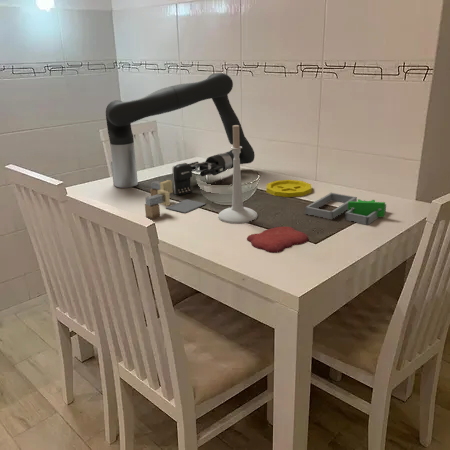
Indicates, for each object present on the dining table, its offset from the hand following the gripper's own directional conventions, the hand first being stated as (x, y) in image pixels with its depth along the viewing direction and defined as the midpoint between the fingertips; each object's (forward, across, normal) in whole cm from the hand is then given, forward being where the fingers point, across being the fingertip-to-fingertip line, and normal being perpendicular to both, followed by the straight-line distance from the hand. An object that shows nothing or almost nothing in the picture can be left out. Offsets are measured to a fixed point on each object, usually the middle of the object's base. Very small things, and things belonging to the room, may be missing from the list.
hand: (192, 172), depth 183 cm
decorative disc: (-19, +31, +8) cm, 37 cm away
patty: (+24, +53, +8) cm, 59 cm away
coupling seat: (+17, +11, +7) cm, 21 cm away
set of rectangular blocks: (+23, +4, +7) cm, 25 cm away
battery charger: (+6, 0, +7) cm, 9 cm away
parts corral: (-8, +60, +7) cm, 61 cm away
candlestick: (+15, +32, +7) cm, 36 cm away
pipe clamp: (-8, +66, +7) cm, 67 cm away
